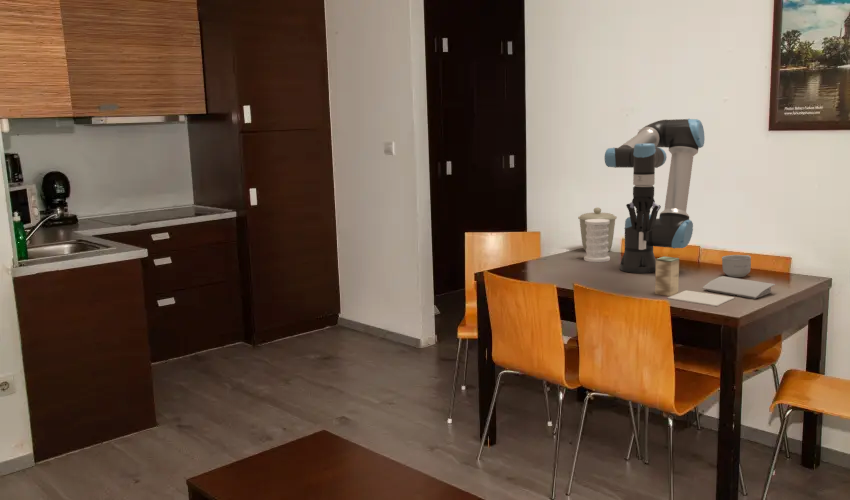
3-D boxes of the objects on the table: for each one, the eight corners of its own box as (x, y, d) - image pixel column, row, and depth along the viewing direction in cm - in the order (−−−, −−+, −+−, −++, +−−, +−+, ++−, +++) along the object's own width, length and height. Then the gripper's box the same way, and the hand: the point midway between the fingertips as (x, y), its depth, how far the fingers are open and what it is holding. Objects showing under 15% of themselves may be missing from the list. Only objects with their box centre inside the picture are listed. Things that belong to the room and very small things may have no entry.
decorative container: (579, 258, 344) (579, 219, 341) (601, 256, 348) (601, 218, 345) (592, 263, 334) (592, 223, 330) (615, 260, 337) (615, 221, 334)
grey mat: (667, 298, 267) (667, 297, 267) (685, 291, 276) (686, 290, 276) (716, 306, 254) (716, 305, 254) (734, 298, 264) (734, 297, 264)
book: (721, 284, 287) (721, 274, 286) (780, 294, 269) (781, 284, 269) (699, 291, 277) (699, 281, 277) (759, 302, 260) (759, 291, 259)
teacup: (735, 280, 292) (736, 259, 290) (715, 275, 302) (715, 255, 300) (762, 276, 297) (763, 256, 295) (741, 271, 307) (742, 252, 305)
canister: (617, 254, 352) (617, 209, 348) (578, 254, 355) (578, 210, 352) (615, 247, 369) (615, 205, 365) (578, 247, 373) (578, 205, 369)
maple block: (655, 293, 274) (655, 258, 272) (663, 290, 279) (663, 256, 276) (670, 296, 270) (671, 260, 268) (678, 293, 274) (679, 258, 272)
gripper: (622, 185, 276) (621, 248, 280) (654, 187, 267) (653, 252, 271) (633, 184, 282) (631, 246, 286) (665, 185, 273) (663, 249, 276)
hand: (642, 249), depth 278 cm, fingers closed
